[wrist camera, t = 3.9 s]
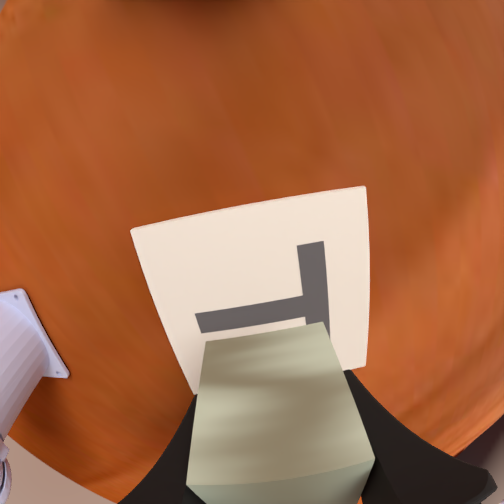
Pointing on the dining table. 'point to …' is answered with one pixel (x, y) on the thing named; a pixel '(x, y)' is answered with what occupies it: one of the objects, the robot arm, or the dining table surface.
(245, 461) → the green block
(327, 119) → the dining table surface
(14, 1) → the dining table surface
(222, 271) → the letter card
